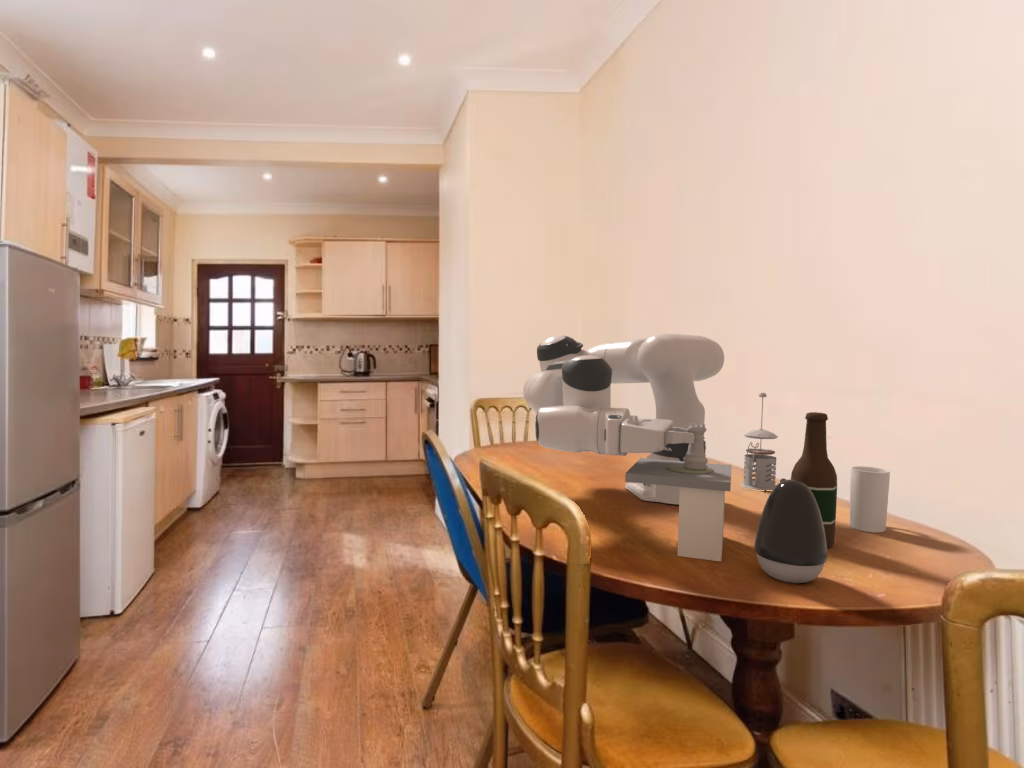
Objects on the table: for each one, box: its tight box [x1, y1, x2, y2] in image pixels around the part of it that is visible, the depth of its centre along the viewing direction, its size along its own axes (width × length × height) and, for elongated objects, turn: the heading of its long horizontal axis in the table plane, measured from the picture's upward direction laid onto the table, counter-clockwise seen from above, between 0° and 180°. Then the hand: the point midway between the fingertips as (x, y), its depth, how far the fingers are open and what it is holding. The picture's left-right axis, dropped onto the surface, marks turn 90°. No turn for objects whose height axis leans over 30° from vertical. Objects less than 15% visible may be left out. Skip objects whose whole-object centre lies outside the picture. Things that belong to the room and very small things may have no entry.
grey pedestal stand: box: [624, 457, 733, 562], centre depth 109 cm, size 17×17×14 cm
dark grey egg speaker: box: [753, 478, 828, 584], centre depth 93 cm, size 10×10×15 cm
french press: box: [739, 392, 779, 490], centre depth 158 cm, size 10×12×25 cm
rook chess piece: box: [682, 423, 709, 470], centre depth 108 cm, size 4×4×8 cm
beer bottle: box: [790, 411, 838, 550], centre depth 111 cm, size 8×8×24 cm
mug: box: [849, 465, 891, 534], centre depth 123 cm, size 10×7×12 cm, turn 150°
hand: (695, 436), depth 108 cm, fingers closed on rook chess piece, 3 cm apart
